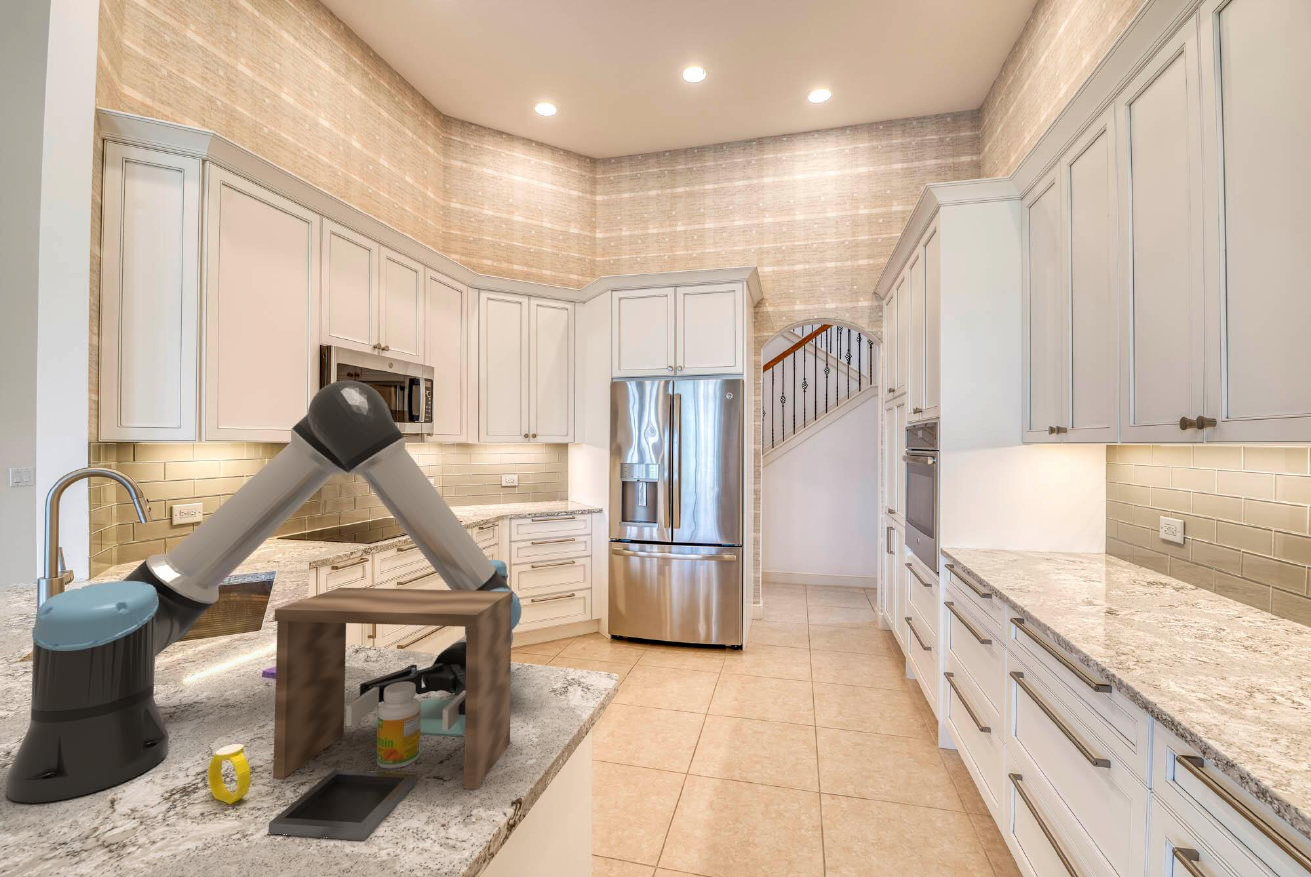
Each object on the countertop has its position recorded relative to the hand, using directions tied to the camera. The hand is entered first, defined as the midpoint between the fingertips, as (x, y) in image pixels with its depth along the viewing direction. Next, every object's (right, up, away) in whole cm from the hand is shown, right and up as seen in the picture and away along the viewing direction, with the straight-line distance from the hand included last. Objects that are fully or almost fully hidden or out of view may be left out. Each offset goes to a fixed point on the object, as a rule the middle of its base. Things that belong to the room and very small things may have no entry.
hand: (396, 718), depth 77 cm
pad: (+1, -7, +14) cm, 16 cm away
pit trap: (-1, -6, -10) cm, 11 cm away
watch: (-17, -6, -8) cm, 19 cm away
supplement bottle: (0, -6, +1) cm, 6 cm away
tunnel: (0, -6, +1) cm, 6 cm away
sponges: (-33, -8, +33) cm, 47 cm away
